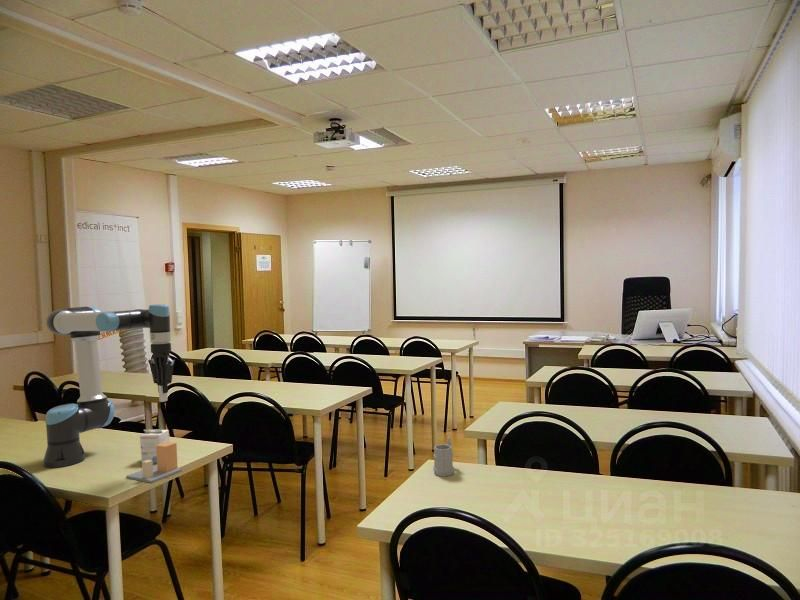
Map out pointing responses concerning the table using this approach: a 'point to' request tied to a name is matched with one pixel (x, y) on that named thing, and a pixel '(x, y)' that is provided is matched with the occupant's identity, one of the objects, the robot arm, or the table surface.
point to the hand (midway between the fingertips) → (163, 401)
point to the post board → (155, 475)
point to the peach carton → (166, 456)
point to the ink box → (152, 443)
